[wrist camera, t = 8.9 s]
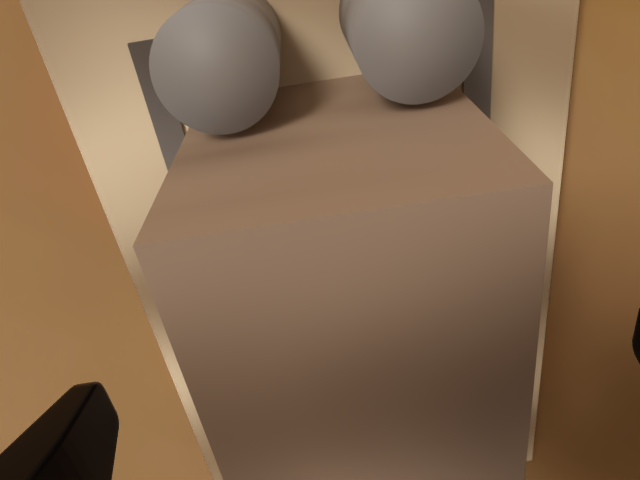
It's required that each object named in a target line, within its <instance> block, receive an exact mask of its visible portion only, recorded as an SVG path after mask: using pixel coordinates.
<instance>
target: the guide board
mask: <svg viewBox="0 0 640 480" xmlns="http://www.w3.org/2000/svg"><path fill="white" fill-rule="evenodd" d="M19 1H20V4H21V6H22V8H23V11H24V13H25V16H26V18H27V21H28V23H29V26H30V28H31V31H32V33H33V36H34V38H35V41H36V43H37V46H38V48H39V50H40V53H41V55H42V58H43V60H44V63H45V65H46V68H47V70H48V73H49V75H50V78H51V80H52V83H53V85H54V88H55V90H56V92H57V95H58V97H59V100H60V102H61V105H62V107H63V110H64V112H65V115H66V117H67V120H68V122H69V125H70V127H71V130H72V132H73V134H74V137H75V139H76V142H77V144H78V147H79V149H80V152H81V154H82V157H83V159H84V162H85V164H86V167H87V169H88V172H89V174H90V176H91V179H92V181H93V184H94V186H95V189H96V191H97V194H98V196H99V199H100V201H101V204H102V206H103V209H104V211H105V214H106V216H107V218H108V221H109V223H110V226H111V228H112V231H113V233H114V236H115V238H116V241H117V243H118V246H119V248H120V251H121V253H122V256H123V258H124V260H125V263H126V265H127V268H128V270H129V273H130V275H131V278H132V280H133V283H134V285H135V288H136V290H137V293H138V295H139V298H140V300H141V302H142V305H143V307H144V310H145V312H146V315H147V317H148V320H149V322H150V325H151V327H152V330H153V332H154V335H155V337H156V340H157V342H158V344H159V347H160V349H161V352H162V354H163V357H164V359H165V362H166V364H167V367H168V369H169V372H170V374H171V377H172V379H173V382H174V384H175V386H176V389H177V391H178V394H179V396H180V399H181V401H182V404H183V406H184V409H185V411H186V414H187V416H188V419H189V421H190V424H191V426H192V428H193V431H194V433H195V436H196V438H197V441H198V443H199V446H200V448H201V451H202V453H203V456H204V458H205V461H206V463H207V466H208V468H209V471H210V473H211V475H212V478H213V480H223V478H222V475H221V473H220V470H219V468H218V465H217V462H216V460H215V457H214V455H213V452H212V450H211V447H210V444H209V442H208V439H207V437H206V434H205V432H204V429H203V426H202V424H201V421H200V419H199V416H198V413H197V411H196V408H195V406H194V403H193V401H192V398H191V395H190V393H189V390H188V388H187V385H186V382H185V380H184V377H183V375H182V372H181V370H180V367H179V364H178V362H177V359H176V357H175V354H174V352H173V349H172V346H171V344H170V341H169V339H168V336H167V333H166V331H165V328H164V326H163V323H162V321H161V318H160V315H159V313H158V310H157V308H156V305H155V303H154V300H153V297H152V295H151V292H150V290H149V287H148V284H147V282H146V279H145V277H144V274H143V272H142V269H141V266H140V264H139V261H138V259H137V256H136V253H135V251H134V248H133V244H134V242H135V240H136V238H137V236H138V234H139V231H140V229H141V227H142V225H143V223H144V221H145V219H146V217H147V215H148V213H149V210H150V208H151V206H152V204H153V202H154V200H155V198H156V196H157V194H158V192H159V189H160V187H161V185H162V183H163V181H164V179H165V177H166V175H167V173H168V170H169V168H170V166H171V164H172V162H173V160H174V158H175V156H176V154H177V152H178V149H179V147H180V145H181V143H182V141H183V139H184V137H185V135H186V133H187V131H188V128H189V127H190V128H192V129H194V130H197V131H200V132H203V133H207V134H214V135H225V134H232V133H237V132H240V131H243V130H245V129H247V128H249V127H251V126H253V125H254V124H255V123H257V122H258V121H259V120H260V119H261V118H262V117H263V116H264V115H265V114H266V113H267V112H268V110H269V109H270V107H271V105H272V104H273V102H274V99H275V97H276V94H277V91H278V87H284V86H291V85H297V84H303V83H310V82H316V81H322V80H329V79H335V78H341V77H348V76H354V75H360V74H362V75H363V76H364V78H365V80H366V81H367V82H368V84H369V85H370V86H371V87H372V88H373V89H374V90H375V91H376V92H377V93H379V94H380V95H382V96H383V97H385V98H387V99H389V100H391V101H394V102H397V103H402V104H410V105H416V104H424V103H429V102H432V101H435V100H438V99H440V98H442V97H444V96H446V95H447V94H449V93H450V92H452V91H453V90H455V89H456V88H457V87H458V88H459V89H460V90H461V91H462V92H463V93H464V94H465V95H466V96H467V97H468V98H469V99H470V100H471V101H472V102H473V103H474V104H475V105H476V106H477V107H478V108H479V109H480V110H481V111H482V112H483V113H484V114H485V115H486V116H487V117H488V118H489V119H490V120H491V121H492V122H493V123H494V124H495V125H496V126H497V127H498V128H499V129H500V130H501V131H502V132H503V133H504V134H505V135H506V136H507V137H508V138H509V139H510V140H511V141H512V142H513V143H514V144H515V145H516V146H517V147H518V148H519V149H520V150H521V151H522V152H523V153H524V154H525V155H526V156H527V157H528V158H529V159H530V160H531V161H532V162H533V163H534V164H535V165H536V166H537V167H538V168H539V169H540V170H541V171H542V172H543V173H544V174H545V175H546V176H547V177H548V178H549V179H550V180H551V181H552V182H553V192H552V203H551V213H550V223H549V234H548V244H547V254H546V265H545V275H544V286H543V296H542V306H541V317H540V327H539V337H538V348H537V358H536V368H535V379H534V389H533V399H532V410H531V420H530V430H529V441H528V451H527V461H532V455H533V446H534V436H535V426H536V417H537V407H538V397H539V388H540V378H541V369H542V359H543V349H544V340H545V330H546V320H547V311H548V301H549V292H550V282H551V272H552V263H553V253H554V243H555V234H556V224H557V215H558V205H559V195H560V186H561V176H562V166H563V157H564V147H565V138H566V128H567V118H568V109H569V99H570V89H571V80H572V70H573V61H574V51H575V41H576V32H577V22H578V12H579V3H580V0H19Z"/></svg>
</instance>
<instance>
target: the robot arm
mask: <svg viewBox="0 0 640 480" xmlns="http://www.w3.org/2000/svg"><path fill="white" fill-rule="evenodd" d="M632 346H633V351H634V354H635V356H636V358H637V360H638V362H639V364H640V308H639V311H638V316H637V321H636V325H635V330H634V334H633V339H632ZM118 430H119V419H118V415H117V412H116V410H115V408H114V406H113V404H112V402H111V400H110V398H109V396H108V394H107V392H106V390H105V388H104V387H103V385H102V384H101V383H99V382H90V383H83V384H77V385H74V386H73V387H72V388H70V389H69V390H68V391H67V392H66V393H65V394H64V395H63V396H62V397H61V398H60V399H58V400H57V401H56V402H55V403H54V404H53V405H52V406H51V407H50V408H49V409H48V410H47V411H46V412H45V413H44V414H42V415H41V416H40V417H39V418H38V419H37V420H36V421H35V422H34V423H33V424H32V425H31V426H30V427H29V428H28V429H27V430H25V431H24V432H23V433H22V434H21V435H20V436H19V437H18V438H17V439H16V440H15V441H14V442H13V443H12V444H11V445H10V446H8V447H7V448H6V449H5V450H4V451H3V452H2V453H1V454H0V480H112V473H113V465H114V458H115V451H116V444H117V437H118Z"/></svg>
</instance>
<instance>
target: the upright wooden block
mask: <svg viewBox="0 0 640 480" xmlns="http://www.w3.org/2000/svg"><path fill="white" fill-rule="evenodd" d="M552 192H553V182H552V181H551V180H550V179H549V178H548V177H547V176H546V175H545V174H544V173H543V172H542V171H541V170H540V169H539V168H538V167H537V166H536V165H535V164H534V163H533V162H532V161H531V160H530V159H529V158H528V157H527V156H526V155H525V154H524V153H523V152H522V151H521V150H520V149H519V148H518V147H517V146H516V145H515V144H514V143H513V142H512V141H511V140H510V139H509V138H508V137H507V136H506V135H505V134H504V133H503V132H502V131H501V130H500V129H499V128H498V127H497V126H496V125H495V124H494V123H493V122H492V121H491V120H490V119H489V118H488V117H487V116H486V115H485V114H484V113H483V112H482V111H481V110H480V109H479V108H478V107H477V106H476V105H475V104H474V103H473V102H472V101H471V100H470V99H469V98H468V97H467V96H466V95H465V94H464V93H463V92H462V91H461V90H460V89H459V88H458V87H457V88H456V89H455V90H453V91H452V92H450V93H449V94H447V95H446V96H444V97H442V98H440V99H438V100H435V101H432V102H429V103H424V104H416V105H410V104H402V103H397V102H394V101H391V100H389V99H387V98H385V97H383V96H382V95H380V94H379V93H377V92H376V91H375V90H374V89H373V88H372V87H371V86H370V85H369V84H368V82H367V81H366V80H365V78H364V76H363V75H362V74H360V75H354V76H348V77H341V78H335V79H329V80H322V81H316V82H310V83H303V84H297V85H291V86H284V87H278V91H277V94H276V97H275V99H274V102H273V104H272V105H271V107H270V109H269V110H268V112H267V113H266V114H265V115H264V116H263V117H262V118H261V119H260V120H259V121H258V122H257V123H255V124H254V125H253V126H251V127H249V128H247V129H245V130H243V131H240V132H237V133H232V134H225V135H214V134H207V133H203V132H200V131H197V130H194V129H192V128H190V127H189V128H188V131H187V133H186V135H185V137H184V139H183V141H182V143H181V145H180V147H179V149H178V152H177V154H176V156H175V158H174V160H173V162H172V164H171V166H170V168H169V170H168V173H167V175H166V177H165V179H164V181H163V183H162V185H161V187H160V189H159V192H158V194H157V196H156V198H155V200H154V202H153V204H152V206H151V208H150V210H149V213H148V215H147V217H146V219H145V221H144V223H143V225H142V227H141V229H140V231H139V234H138V236H137V238H136V240H135V242H134V244H133V248H134V251H135V253H136V256H137V259H138V261H139V264H140V266H141V269H142V272H143V274H144V277H145V279H146V282H147V284H148V287H149V290H150V292H151V295H152V297H153V300H154V303H155V305H156V308H157V310H158V313H159V315H160V318H161V321H162V323H163V326H164V328H165V331H166V333H167V336H168V339H169V341H170V344H171V346H172V349H173V352H174V354H175V357H176V359H177V362H178V364H179V367H180V370H181V372H182V375H183V377H184V380H185V382H186V385H187V388H188V390H189V393H190V395H191V398H192V401H193V403H194V406H195V408H196V411H197V413H198V416H199V419H200V421H201V424H202V426H203V429H204V432H205V434H206V437H207V439H208V442H209V444H210V447H211V450H212V452H213V455H214V457H215V460H216V462H217V465H218V468H219V470H220V473H221V475H222V478H223V480H525V472H526V461H527V451H528V441H529V430H530V420H531V410H532V399H533V389H534V379H535V368H536V358H537V348H538V337H539V327H540V317H541V306H542V296H543V286H544V275H545V265H546V254H547V244H548V234H549V223H550V213H551V203H552Z"/></svg>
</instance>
